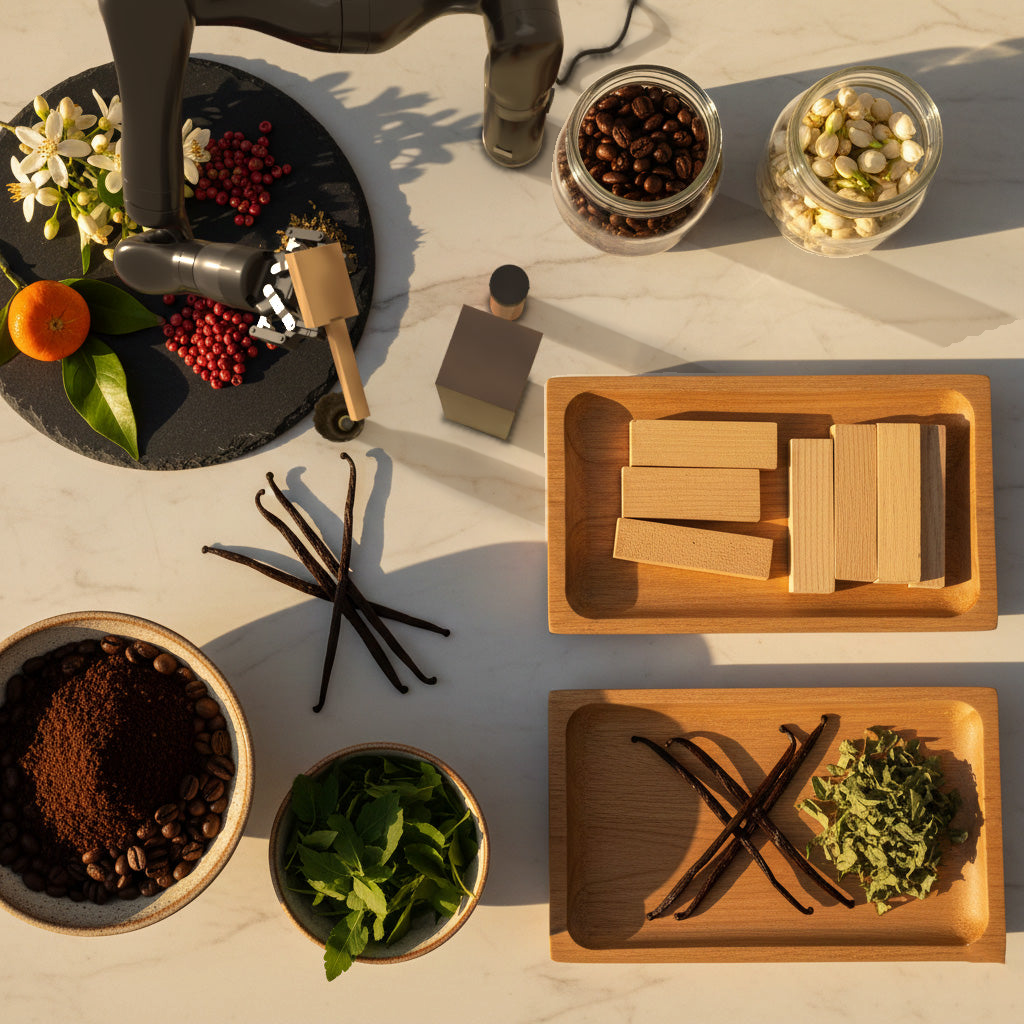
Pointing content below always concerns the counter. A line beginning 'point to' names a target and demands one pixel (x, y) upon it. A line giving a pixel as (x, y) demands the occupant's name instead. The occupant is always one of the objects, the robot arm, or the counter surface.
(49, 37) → the counter surface
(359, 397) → the spatula
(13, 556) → the counter surface
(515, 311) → the spice jar
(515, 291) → the jar lid
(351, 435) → the brown funnel
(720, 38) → the counter surface
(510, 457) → the counter surface
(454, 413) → the pedestal
